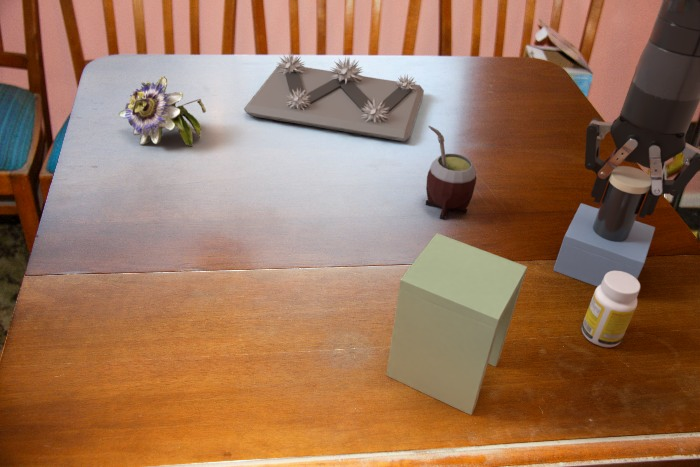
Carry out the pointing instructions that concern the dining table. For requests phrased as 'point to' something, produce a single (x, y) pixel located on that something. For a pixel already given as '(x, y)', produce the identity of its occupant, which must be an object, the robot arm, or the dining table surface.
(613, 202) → the spice jar
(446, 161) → the mate gourd
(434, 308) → the notched sage green block
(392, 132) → the spiky constellation board
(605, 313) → the supplement bottle
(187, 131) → the passion flower
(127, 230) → the dining table surface
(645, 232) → the blue grey block
